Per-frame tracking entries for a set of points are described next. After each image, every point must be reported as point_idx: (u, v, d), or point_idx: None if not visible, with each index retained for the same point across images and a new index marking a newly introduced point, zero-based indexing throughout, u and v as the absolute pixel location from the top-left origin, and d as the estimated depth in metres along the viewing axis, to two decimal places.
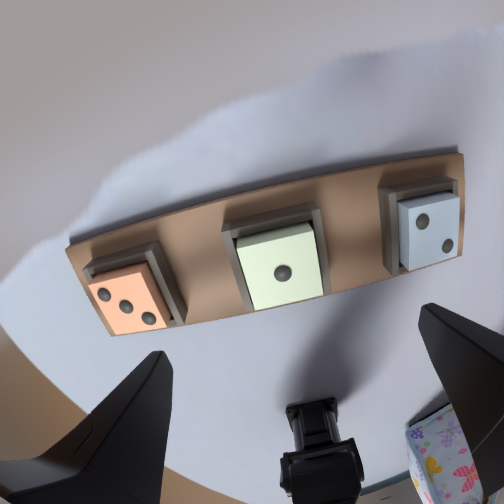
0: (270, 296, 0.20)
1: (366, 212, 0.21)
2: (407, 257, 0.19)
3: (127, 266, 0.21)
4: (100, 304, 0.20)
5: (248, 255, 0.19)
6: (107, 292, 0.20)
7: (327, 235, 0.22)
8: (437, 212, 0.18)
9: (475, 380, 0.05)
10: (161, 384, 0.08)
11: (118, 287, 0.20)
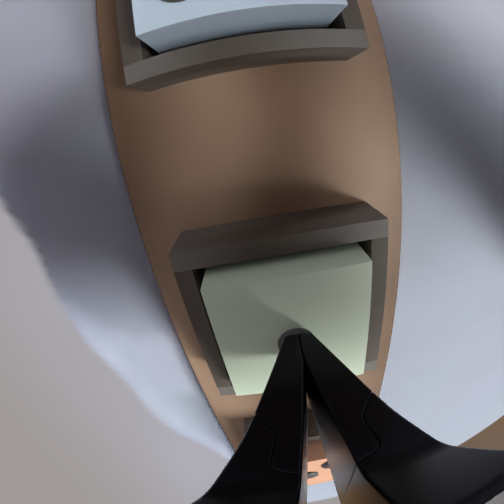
0: (342, 357, 0.09)
1: (206, 109, 0.09)
2: (304, 7, 0.05)
3: None
4: None
5: (249, 384, 0.10)
6: None
7: (257, 199, 0.10)
8: None
9: (328, 431, 0.06)
10: None
11: None
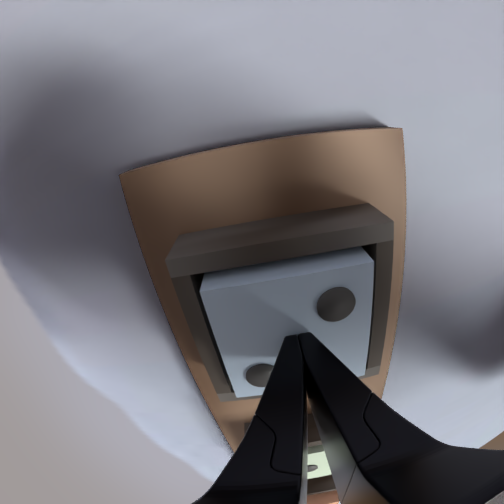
0: None
1: None
2: None
3: None
4: None
5: None
6: None
7: None
8: (243, 348, 0.09)
9: (328, 431, 0.06)
10: None
11: None
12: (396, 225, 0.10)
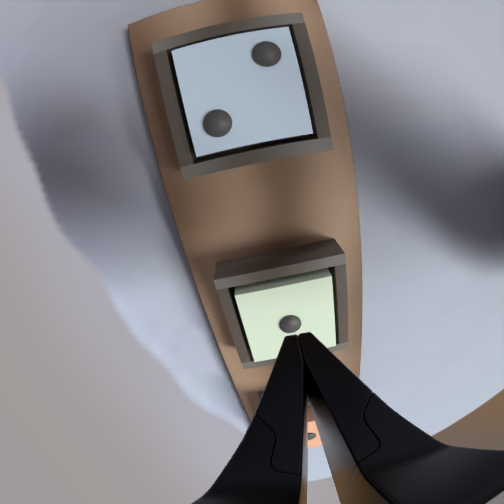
0: (319, 333, 0.16)
1: (231, 185, 0.15)
2: None
3: None
4: None
5: (263, 353, 0.16)
6: None
7: (264, 241, 0.16)
8: (200, 93, 0.10)
9: (328, 431, 0.06)
10: None
11: None
12: (321, 40, 0.11)
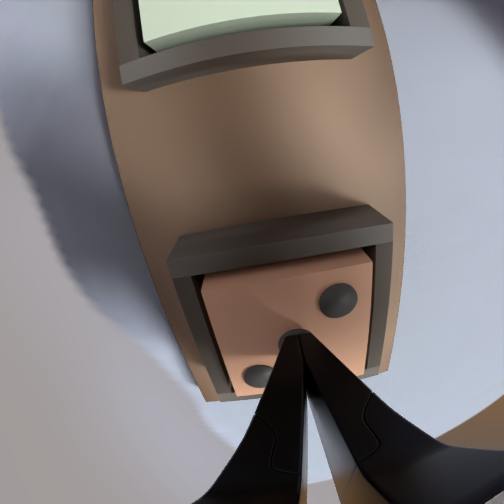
0: None
1: None
2: None
3: None
4: None
5: (164, 15, 0.05)
6: (254, 370, 0.09)
7: None
8: None
9: (328, 431, 0.06)
10: None
11: (242, 346, 0.09)
12: None
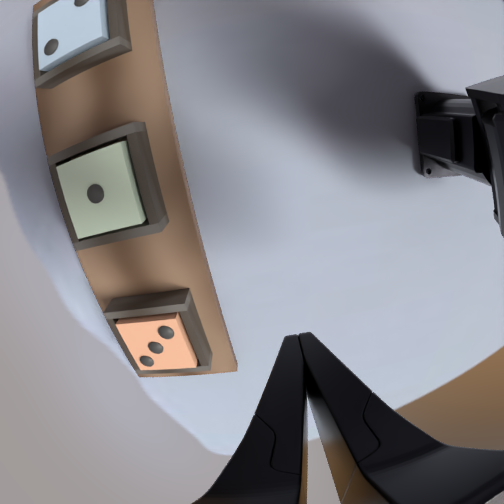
0: (122, 206, 0.16)
1: (72, 92, 0.14)
2: (90, 43, 0.11)
3: None
4: (159, 367, 0.21)
5: (82, 228, 0.16)
6: (142, 357, 0.21)
7: (92, 131, 0.16)
8: (46, 33, 0.10)
9: (328, 431, 0.06)
10: None
11: (135, 347, 0.20)
12: None
